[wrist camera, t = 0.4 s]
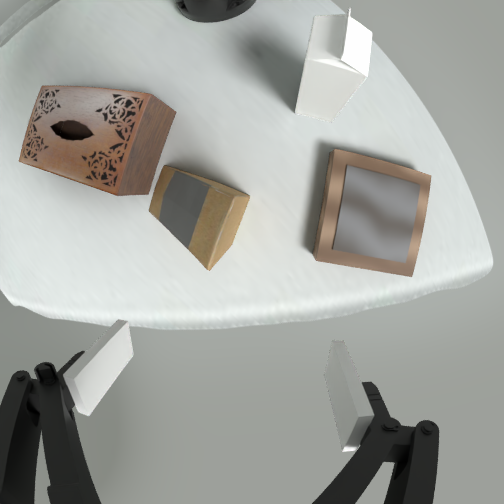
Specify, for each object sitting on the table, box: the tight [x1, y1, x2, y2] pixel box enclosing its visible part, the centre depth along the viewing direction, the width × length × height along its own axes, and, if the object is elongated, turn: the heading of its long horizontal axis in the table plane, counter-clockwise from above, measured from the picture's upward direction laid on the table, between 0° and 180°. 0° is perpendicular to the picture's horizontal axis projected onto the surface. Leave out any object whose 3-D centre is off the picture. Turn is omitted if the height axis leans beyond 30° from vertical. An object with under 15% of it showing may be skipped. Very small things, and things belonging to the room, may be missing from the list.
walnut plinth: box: [313, 149, 431, 277], centre depth 38 cm, size 16×16×4 cm
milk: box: [295, 8, 372, 123], centre depth 27 cm, size 6×6×22 cm
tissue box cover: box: [19, 86, 176, 196], centre depth 37 cm, size 26×14×10 cm, turn 71°
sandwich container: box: [149, 165, 250, 271], centre depth 35 cm, size 9×15×15 cm, turn 69°
